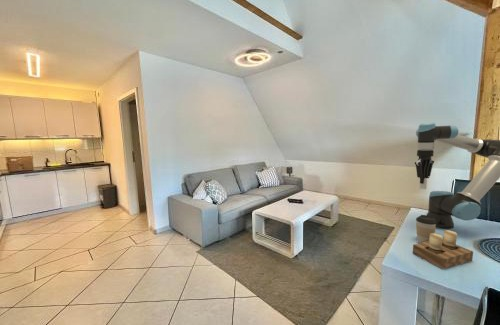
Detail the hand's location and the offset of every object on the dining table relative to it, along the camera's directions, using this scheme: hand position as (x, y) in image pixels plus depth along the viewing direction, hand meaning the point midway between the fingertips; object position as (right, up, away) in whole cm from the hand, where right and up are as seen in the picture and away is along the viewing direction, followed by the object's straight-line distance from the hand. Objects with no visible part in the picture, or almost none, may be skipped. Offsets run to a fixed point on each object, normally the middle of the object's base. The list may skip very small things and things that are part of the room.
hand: (422, 188), depth 128 cm
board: (-7, -32, -21) cm, 39 cm away
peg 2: (-3, -32, -19) cm, 37 cm away
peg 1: (-12, -32, -22) cm, 41 cm away
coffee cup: (-3, -30, -5) cm, 31 cm away
